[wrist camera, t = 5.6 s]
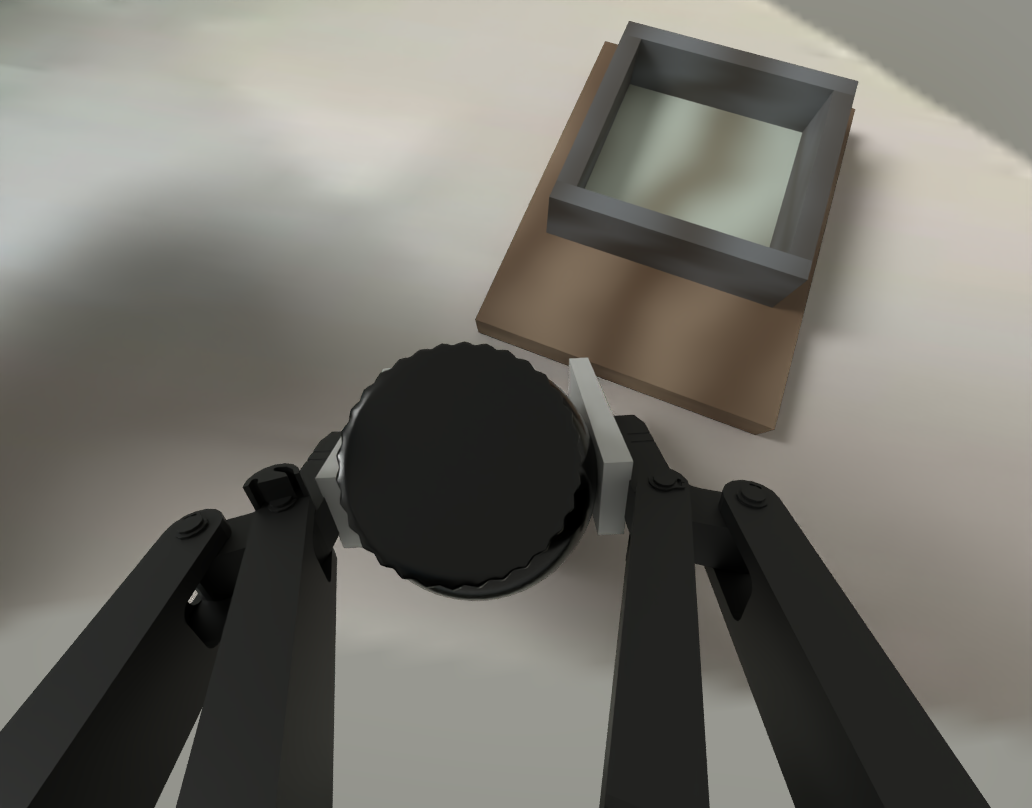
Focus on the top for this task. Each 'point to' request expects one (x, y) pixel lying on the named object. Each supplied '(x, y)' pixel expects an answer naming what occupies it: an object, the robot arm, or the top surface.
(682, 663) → the robot arm
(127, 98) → the top surface
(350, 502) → the supplement bottle
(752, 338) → the base board
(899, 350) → the top surface
